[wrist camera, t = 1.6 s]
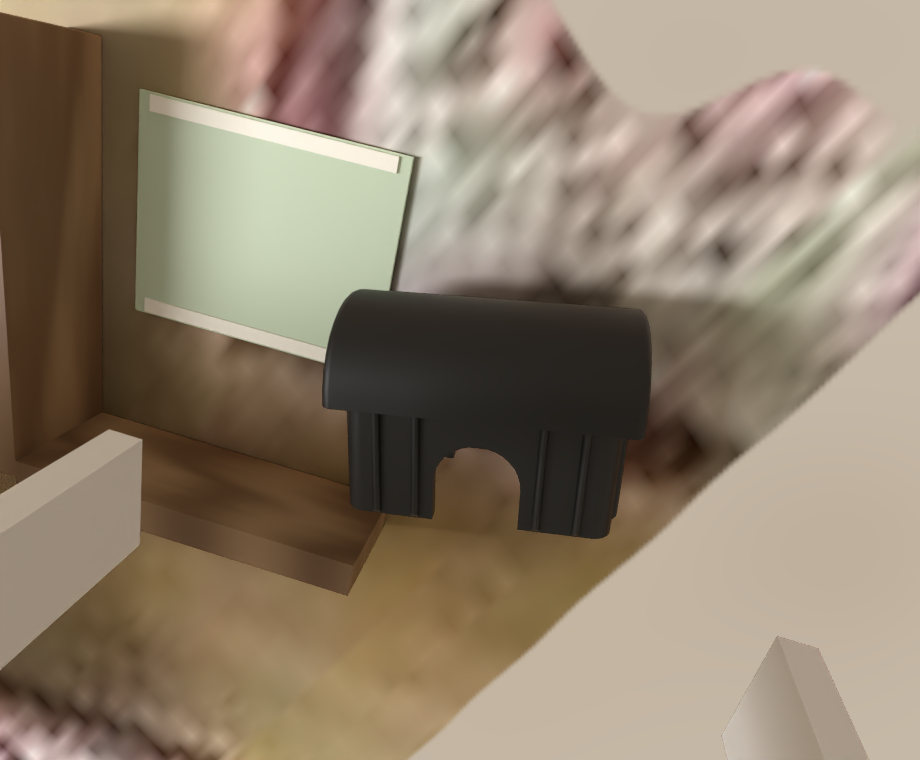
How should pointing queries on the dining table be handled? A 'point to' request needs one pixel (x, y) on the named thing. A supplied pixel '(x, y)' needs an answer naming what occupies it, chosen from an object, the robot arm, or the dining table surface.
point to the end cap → (490, 399)
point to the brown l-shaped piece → (80, 338)
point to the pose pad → (260, 223)
